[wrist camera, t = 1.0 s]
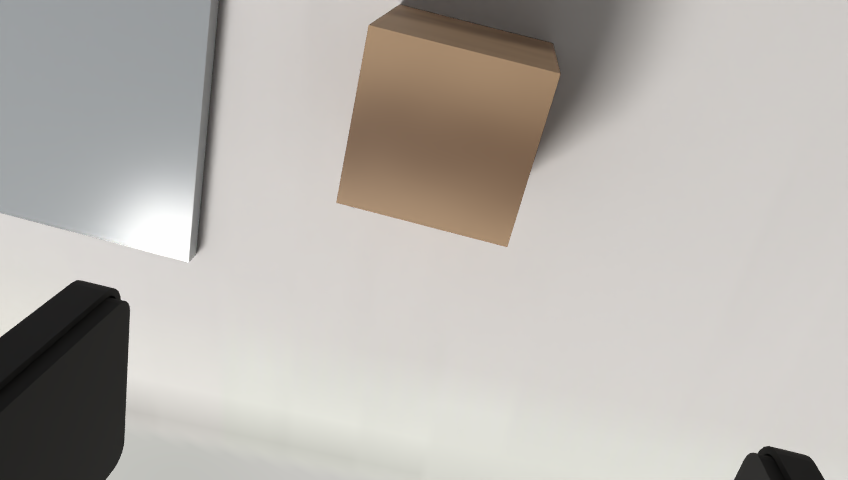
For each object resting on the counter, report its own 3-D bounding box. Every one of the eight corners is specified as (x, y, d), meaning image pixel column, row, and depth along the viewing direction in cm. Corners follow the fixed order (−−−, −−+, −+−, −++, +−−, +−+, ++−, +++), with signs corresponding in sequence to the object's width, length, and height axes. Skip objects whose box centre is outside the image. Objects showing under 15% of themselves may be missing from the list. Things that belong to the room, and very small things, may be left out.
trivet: (-74, -88, 27) (-90, -89, 27) (220, -14, 27) (211, -12, 26) (-52, 189, 32) (-65, 195, 32) (196, 254, 32) (188, 262, 31)
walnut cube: (399, 4, 27) (368, 25, 21) (552, 42, 26) (560, 73, 21) (370, 150, 29) (336, 202, 24) (510, 186, 29) (507, 246, 24)
